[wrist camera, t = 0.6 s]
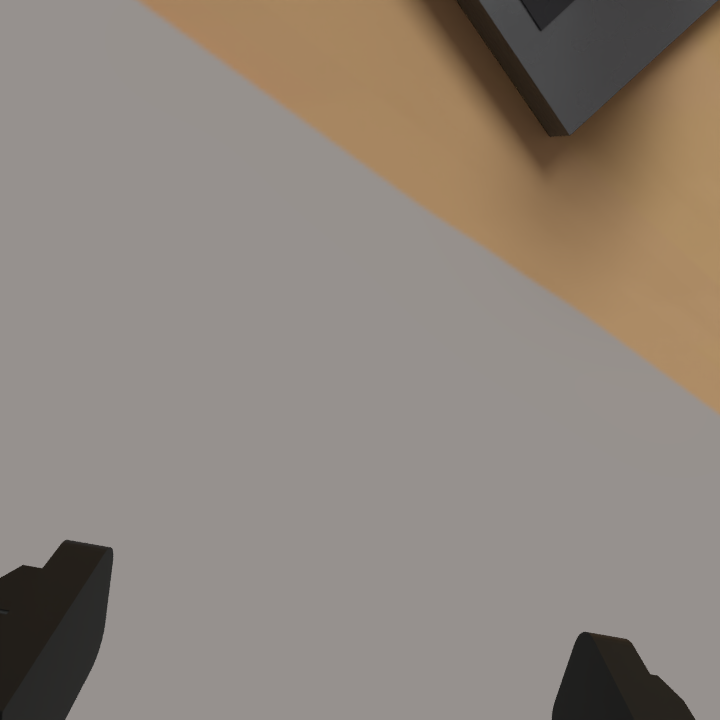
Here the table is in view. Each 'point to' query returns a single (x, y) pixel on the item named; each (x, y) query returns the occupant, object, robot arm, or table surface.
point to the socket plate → (577, 48)
